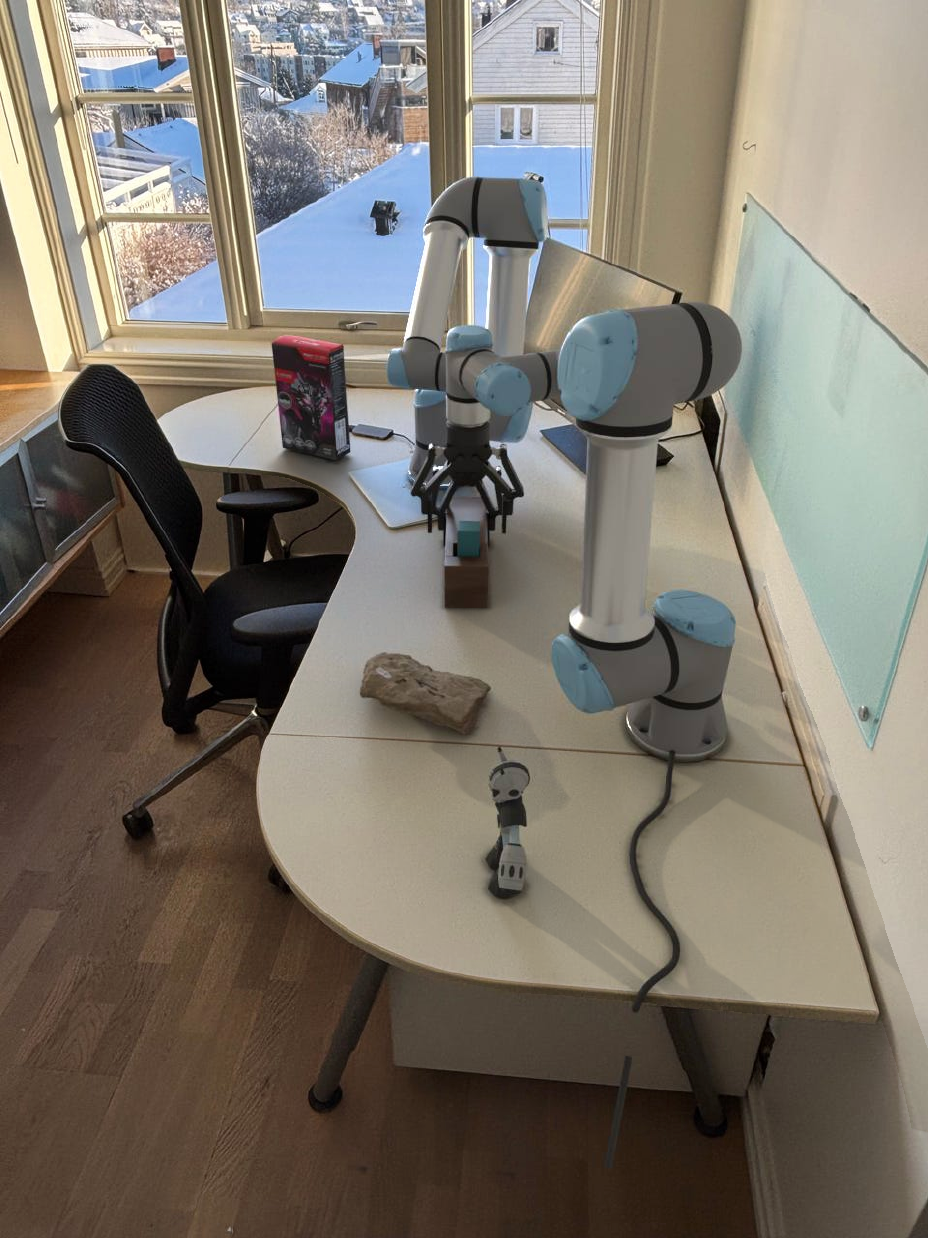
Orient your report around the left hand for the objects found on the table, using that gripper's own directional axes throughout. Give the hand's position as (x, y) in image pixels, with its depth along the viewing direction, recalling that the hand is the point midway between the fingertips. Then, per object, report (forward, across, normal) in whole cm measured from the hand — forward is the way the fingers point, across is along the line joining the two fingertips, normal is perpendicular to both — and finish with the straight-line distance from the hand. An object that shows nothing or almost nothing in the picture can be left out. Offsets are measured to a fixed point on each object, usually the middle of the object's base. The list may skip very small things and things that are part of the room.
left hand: (466, 543), depth 191 cm
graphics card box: (0, +38, -47) cm, 60 cm away
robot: (0, -5, +87) cm, 87 cm away
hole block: (0, 0, +10) cm, 10 cm away
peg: (0, 0, +18) cm, 18 cm away
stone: (0, +7, +53) cm, 53 cm away
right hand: (-13, 0, +18) cm, 22 cm away
